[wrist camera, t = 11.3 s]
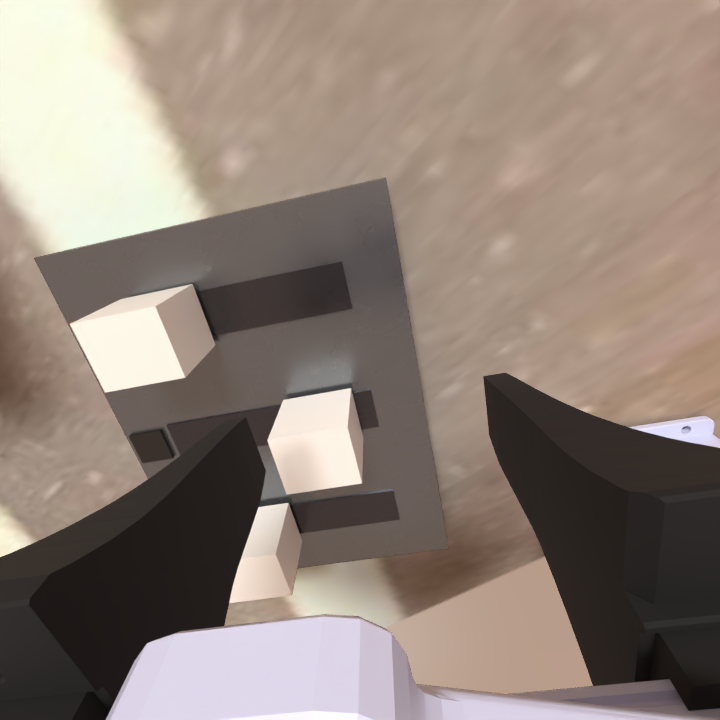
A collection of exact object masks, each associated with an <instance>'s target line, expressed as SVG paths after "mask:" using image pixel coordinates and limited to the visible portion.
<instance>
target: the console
mask: <svg viewBox="0 0 720 720" xmlns="http://www.w3.org/2000/svg"><path fill="white" fill-rule="evenodd" d="M34 259H35V261H36V263H37V265H38V267H39V269H40V271H41V273H42V275H43V277H44V279H45V281H46V283H47V285H48V287H49V288H50V290H51V292H52V294H53V296H54V298H55V300H56V302H57V304H58V306H59V308H60V310H61V312H62V314H63V315H64V317H65V319H66V321H67V323H68V325H69V327H70V329H71V331H72V333H73V335H74V337H75V339H76V341H77V342H78V344H79V346H80V348H81V350H82V352H83V354H84V356H85V358H86V360H87V362H88V364H89V366H90V368H91V370H92V371H93V373H94V375H95V377H96V379H97V381H98V383H99V385H100V387H101V389H102V391H103V393H104V395H105V397H106V398H107V400H108V402H109V404H110V406H111V408H112V410H113V412H114V414H115V416H116V418H117V420H118V422H119V424H120V425H121V427H122V429H123V431H124V433H125V435H126V437H127V439H128V441H129V443H130V445H131V447H132V449H133V451H134V453H135V454H136V456H137V458H138V460H139V462H140V464H141V466H142V468H143V470H144V472H145V474H146V476H147V478H148V479H149V478H151V477H152V476H153V475H155V474H156V473H158V472H159V471H160V470H162V469H163V468H164V467H166V466H167V465H168V464H170V463H171V462H173V461H174V460H175V459H177V458H178V457H179V456H180V455H182V454H183V453H184V452H186V451H187V450H188V449H189V448H191V447H192V446H193V445H194V444H196V443H197V442H198V441H200V440H201V439H202V438H203V437H205V436H206V435H207V434H209V433H210V432H211V431H213V430H214V429H215V428H217V427H218V426H219V425H221V424H223V423H224V422H226V421H228V420H234V419H240V418H247V421H248V424H249V427H250V429H251V432H252V435H253V437H254V440H255V443H256V445H257V448H258V451H259V453H260V456H261V459H262V461H263V464H264V467H265V470H266V473H265V479H264V486H263V491H262V496H261V501H260V504H259V507H263V506H270V505H277V504H284V503H289V505H290V508H291V511H292V514H293V516H294V519H295V522H296V525H297V528H298V530H299V533H300V536H301V539H302V545H301V551H300V556H299V561H298V566H297V568H302V567H310V566H318V565H325V564H333V563H341V562H348V561H356V560H364V559H371V558H379V557H387V556H394V555H402V554H410V553H418V552H425V551H433V550H441V549H448V542H447V536H446V530H445V525H444V519H443V513H442V507H441V501H440V495H439V489H438V483H437V477H436V471H435V465H434V459H433V454H432V448H431V442H430V436H429V430H428V424H427V418H426V412H425V406H424V400H423V394H422V388H421V382H420V377H419V371H418V365H417V359H416V353H415V347H414V341H413V335H412V329H411V323H410V317H409V311H408V305H407V300H406V294H405V288H404V282H403V276H402V270H401V264H400V258H399V252H398V246H397V240H396V234H395V228H394V223H393V217H392V211H391V205H390V199H389V193H388V187H387V181H386V178H381V179H377V180H372V181H368V182H364V183H359V184H355V185H350V186H346V187H342V188H337V189H333V190H329V191H324V192H320V193H315V194H311V195H307V196H302V197H298V198H293V199H289V200H285V201H280V202H276V203H272V204H267V205H263V206H258V207H254V208H250V209H245V210H241V211H236V212H232V213H228V214H223V215H219V216H214V217H210V218H206V219H201V220H197V221H193V222H188V223H184V224H179V225H175V226H171V227H166V228H162V229H157V230H153V231H149V232H144V233H140V234H136V235H131V236H127V237H122V238H118V239H114V240H109V241H105V242H100V243H96V244H92V245H87V246H83V247H78V248H74V249H70V250H65V251H61V252H57V253H53V254H49V255H44V256H40V257H36V258H34ZM190 284H193V286H194V289H195V292H196V294H197V297H198V300H199V302H200V305H201V308H202V310H203V313H204V316H205V318H206V321H207V324H208V326H209V329H210V332H211V334H212V337H213V340H214V342H215V346H214V347H213V348H212V349H211V351H210V352H209V353H208V354H207V355H206V356H205V357H204V358H203V359H202V360H201V361H200V362H199V364H198V365H197V366H196V367H195V368H194V369H193V370H192V371H191V372H190V373H189V374H188V375H187V376H186V378H181V379H176V380H170V381H165V382H160V383H154V384H149V385H144V386H138V387H133V388H127V389H122V390H117V391H111V392H106V393H105V392H104V390H103V388H102V386H101V384H100V382H99V380H98V378H97V376H96V374H95V372H94V370H93V368H92V366H91V364H90V362H89V361H88V359H87V357H86V355H85V353H84V351H83V349H82V347H81V345H80V343H79V341H78V339H77V337H76V335H75V333H74V331H73V330H72V328H71V326H70V324H71V323H73V322H75V321H77V320H79V319H81V318H83V317H85V316H87V315H89V314H91V313H93V312H95V311H98V310H100V309H102V308H104V307H106V306H108V305H110V304H112V303H114V302H116V301H118V300H120V299H124V298H129V297H133V296H138V295H143V294H148V293H152V292H157V291H162V290H166V289H171V288H176V287H181V286H185V285H190ZM349 388H351V389H352V393H353V398H354V402H355V406H356V410H357V414H358V418H359V422H360V426H361V430H362V434H363V471H362V484H355V485H348V486H342V487H335V488H328V489H322V490H315V491H308V492H302V493H295V494H288V495H287V494H286V491H285V489H284V486H283V483H282V480H281V477H280V475H279V472H278V469H277V466H276V463H275V461H274V458H273V455H272V452H271V449H270V447H269V444H268V441H267V440H268V438H269V435H270V432H271V430H272V427H273V425H274V422H275V420H276V417H277V415H278V412H279V410H280V407H281V404H282V402H283V400H286V399H292V398H297V397H303V396H309V395H315V394H320V393H326V392H332V391H337V390H343V389H349Z"/></svg>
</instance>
